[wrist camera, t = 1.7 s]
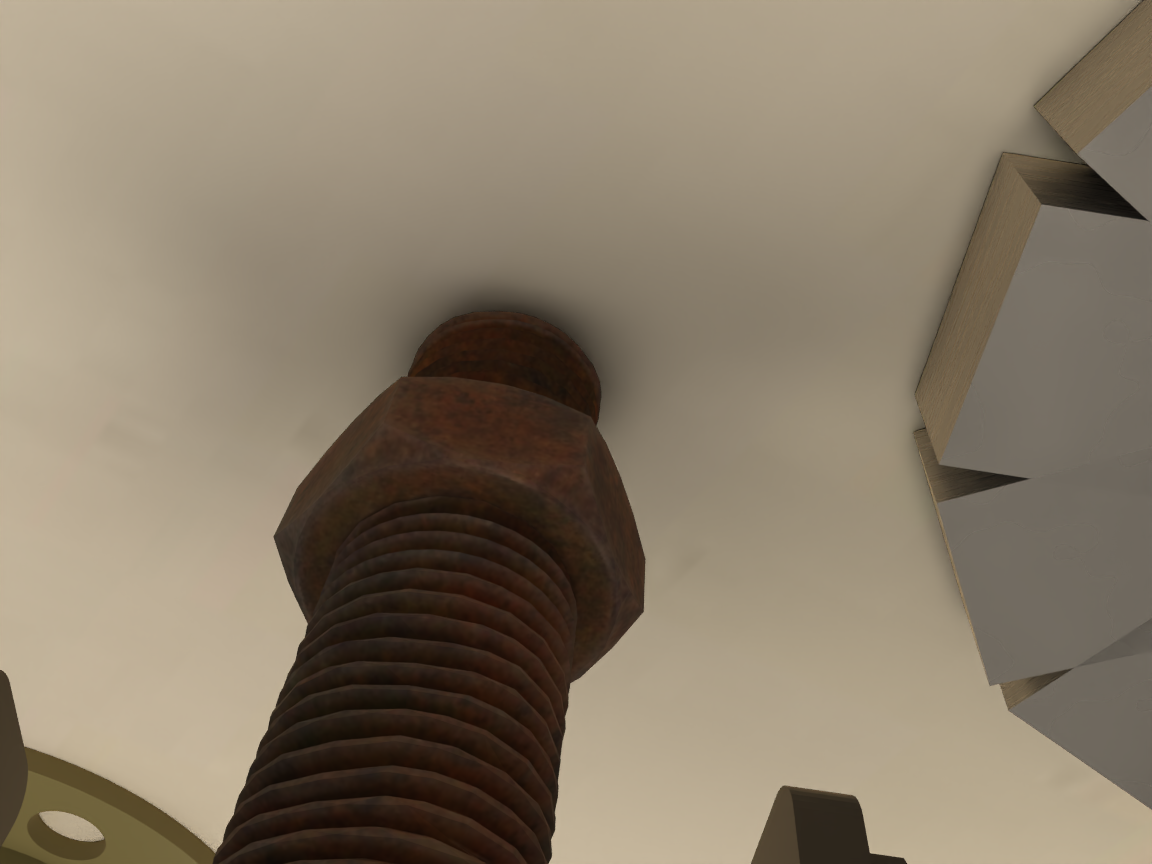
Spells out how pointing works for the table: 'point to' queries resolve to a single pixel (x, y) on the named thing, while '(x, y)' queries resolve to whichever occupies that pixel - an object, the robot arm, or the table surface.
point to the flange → (94, 822)
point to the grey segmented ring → (1059, 419)
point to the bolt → (445, 610)
